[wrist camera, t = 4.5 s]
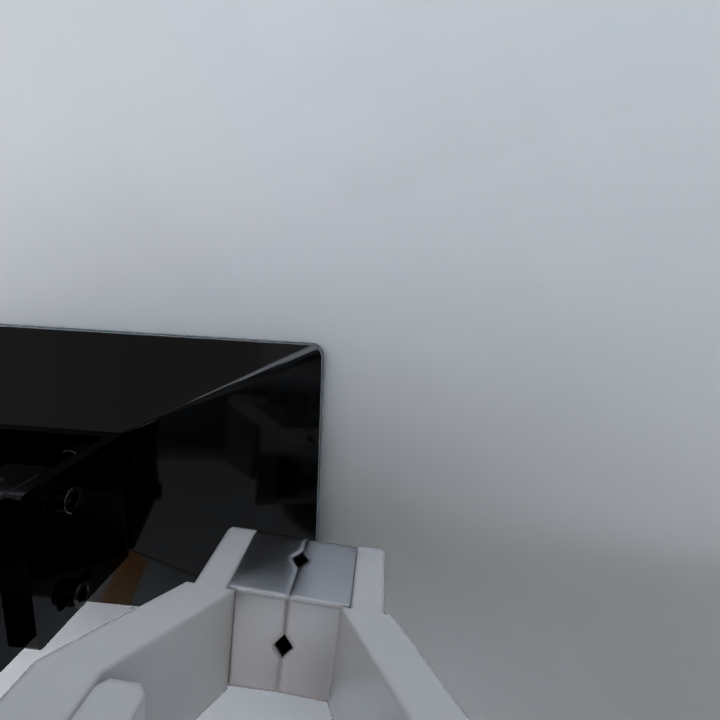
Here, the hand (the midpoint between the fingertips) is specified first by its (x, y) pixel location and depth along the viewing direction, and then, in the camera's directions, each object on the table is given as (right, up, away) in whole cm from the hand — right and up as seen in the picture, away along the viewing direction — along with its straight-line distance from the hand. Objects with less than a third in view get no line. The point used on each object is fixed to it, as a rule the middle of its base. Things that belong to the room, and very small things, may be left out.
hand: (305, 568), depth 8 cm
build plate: (-6, +1, +2) cm, 7 cm away
